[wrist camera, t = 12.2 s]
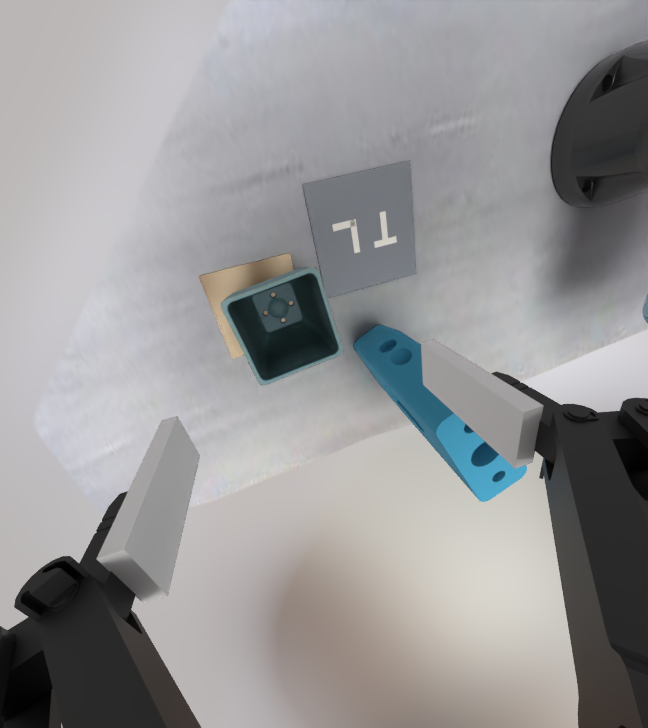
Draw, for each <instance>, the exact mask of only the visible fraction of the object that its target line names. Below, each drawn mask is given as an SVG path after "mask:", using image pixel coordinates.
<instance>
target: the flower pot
mask: <svg viewBox="0 0 648 728" xmlns="http://www.w3.org/2000/svg"><path fill="white" fill-rule="evenodd" d="M271 293H275V297H272V296H271ZM290 301H293V305H290V304H289V302H290ZM220 306H221V309H222V312H223V314H224V316H225V317H226V319H227V321H228V323H229V325H230V327H231V329H232V331H233V333H234V335H235V337H236V339H237V341H238V343H239V344H240V347H241V349H242V351H243V353H244V355H245V356H246V359H247V360H248V363H249V365H250V367H251V369H252V371H253V373H254V375H255V377H256V379H257V381H258V383H259V384H260V385H268V384H271V383H273V382H275V381H278V380H280V379H283V378H285V377H287V376H289V375H292V374H294V373H297V372H299V371H302V370H304V369H307V368H309V367H312V366H314V365H317V364H320V363H322V362H325V361H327V360H330V359H332V358H335V357H337V356H339V355H341V354H342V353H343V346H342V343H341V340H340V337H339V334H338V331H337V328H336V325H335V322H334V319H333V316H332V312H331V309H330V306H329V303H328V299H327V296H326V293H325V290H324V286H323V282H322V279H321V275H320V272H319V270H318V269H317V268H316V267H303V268H298V269H296V270H293V271H290V272H288V273H285V274H283V275H280V276H277V277H275V278H272V279H269V280H267V281H264V282H261V283H259V284H256V285H253V286H251V287H248V288H245V289H242V290H240V291H237V292H234V293H232V294H231V295H229V296H228V297H227V298H225V299H224V300H223V301H222V302H221V305H220ZM264 311H267V312H268V314H267V315H264V313H263V312H264ZM282 318H285V319H286V321H285V322H281V319H282Z"/></svg>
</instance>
